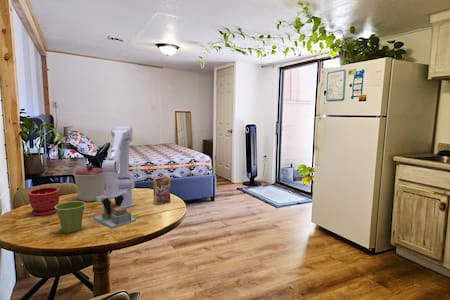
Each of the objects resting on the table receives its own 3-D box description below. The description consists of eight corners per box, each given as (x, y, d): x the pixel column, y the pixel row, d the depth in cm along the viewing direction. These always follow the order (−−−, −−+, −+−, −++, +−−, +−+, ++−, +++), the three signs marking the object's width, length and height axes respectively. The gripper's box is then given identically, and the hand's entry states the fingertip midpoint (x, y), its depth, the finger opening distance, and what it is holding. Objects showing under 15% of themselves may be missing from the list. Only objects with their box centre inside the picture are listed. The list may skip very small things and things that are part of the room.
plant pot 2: (84, 233, 117) (82, 208, 116) (52, 237, 114) (50, 210, 112) (89, 223, 128) (88, 199, 127) (60, 226, 125) (58, 202, 124)
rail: (104, 214, 135) (103, 204, 134) (111, 212, 138) (111, 202, 137) (118, 221, 126) (118, 211, 125) (126, 219, 129) (126, 209, 128)
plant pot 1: (24, 214, 139) (22, 191, 138) (51, 207, 151) (49, 185, 150) (39, 219, 133) (37, 195, 132) (66, 211, 145) (64, 188, 143)
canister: (77, 196, 172) (75, 162, 169) (109, 193, 177) (107, 161, 174) (71, 205, 154) (68, 168, 152) (106, 202, 160) (104, 166, 157)
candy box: (155, 205, 155) (155, 178, 153) (153, 203, 158) (152, 177, 156) (170, 202, 159) (170, 176, 158) (168, 200, 163) (167, 175, 161)
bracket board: (93, 218, 134) (92, 209, 133) (116, 212, 143) (116, 203, 143) (112, 228, 122) (111, 218, 122) (136, 220, 132) (135, 211, 131)
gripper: (100, 189, 123) (102, 218, 125) (130, 183, 134) (131, 210, 136) (93, 186, 128) (95, 215, 129) (122, 181, 139) (123, 207, 140)
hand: (113, 212), depth 133 cm, fingers closed on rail, 4 cm apart
